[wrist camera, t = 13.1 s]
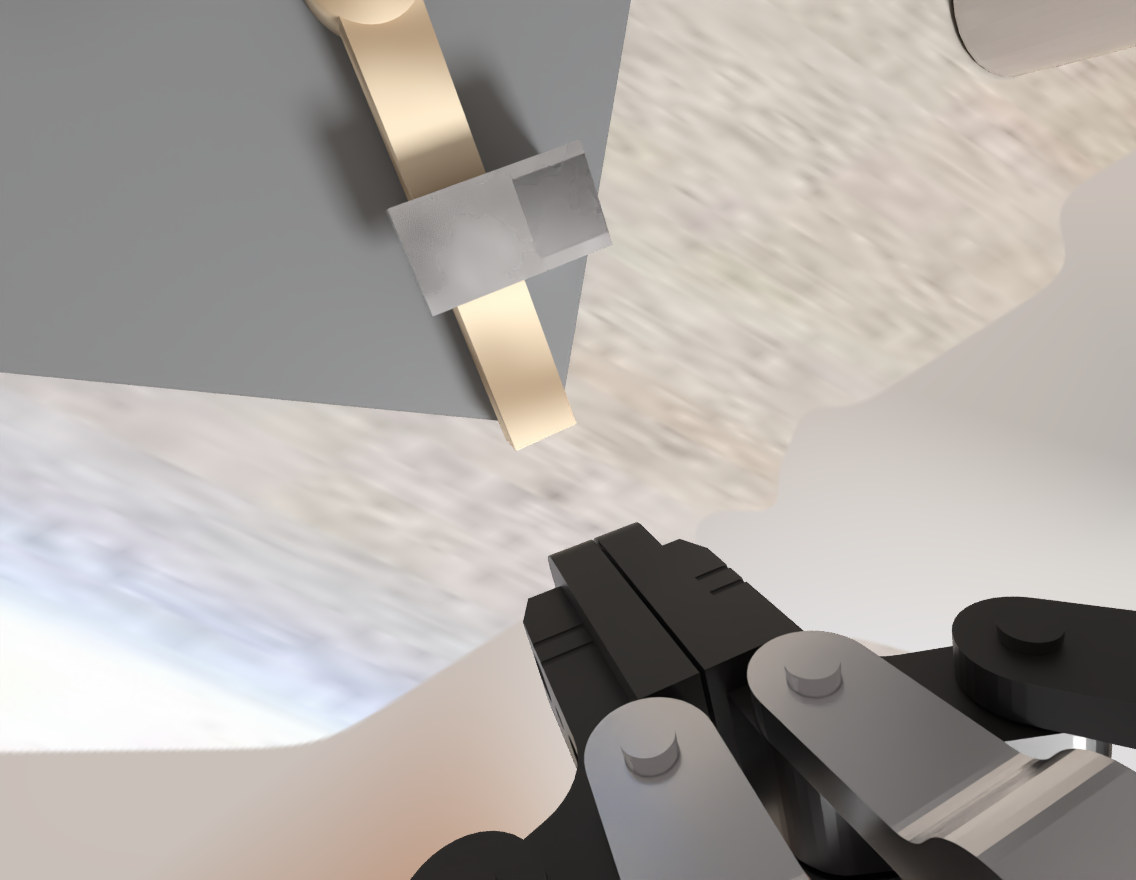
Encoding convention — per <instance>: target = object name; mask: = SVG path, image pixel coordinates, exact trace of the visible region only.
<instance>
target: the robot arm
mask: <svg viewBox="0 0 1136 880" xmlns="http://www.w3.org/2000/svg"><path fill="white" fill-rule="evenodd" d="M953 3H954V12H955V18H956V22H957V26H958V29H959V33H960V36H961V38H962V40H963V42H964V44H965V46H966V48H967V50H968V52H969V53H970V54H971V56H972V57H973V58H974V59H975V61H976V62H977V63H978V64H979V65H981V66H982V67H983V68H985V69H986V70H987V71H989V72H991V73H994V74H997V75H999V76H1010V77H1015V76H1019V75H1023V74H1027V73H1031V72H1035V71H1039V70H1043V69H1047V68H1050V67H1054V66H1061V65H1065V64H1069V63H1073V62H1077V61H1081V60H1085V59H1089V58H1092V57H1096V56H1100V55H1104V54H1108V53H1112V52H1116V51H1119V50H1123V49H1127V48H1131V47H1135V46H1136V0H953ZM548 561H549V566H550V570H551V573H552V577H553V580H554V583H555V587H556V588H554V589H552V590H549V591H547V592H544V593H542V594H539V595H537V596H534V597H532V598H529V599H528V602H527V607H526V611H525V616H524V620H523V624H524V627H525V630H526V633H527V636H528V639H529V642H530V645H531V648H532V651H533V654H534V657H535V660H536V663H537V666H538V670H539V673H540V676H541V679H542V681H543V684H544V688H545V691H546V694H547V697H548V700H549V703H550V705H551V708H552V710H553V713H554V715H555V717H556V720H557V722H558V725H559V727H560V729H561V732H562V734H563V737H564V739H565V742H566V744H567V746H568V748H569V751H570V753H571V756H572V758H573V761H574V763H575V765H576V768H577V771H576V775H575V779H574V781H573V784H572V786H571V789H570V791H569V792H568V794H567V796H566V797H565V799H564V801H563V802H562V803H561V804H560V806H559V807H558V808H557V810H556V811H555V812H554V813H553V814H552V815H551V816H550V817H549V818H548V819H547V820H546V821H544V822H543V823H542V824H541V825H540V826H539V827H538V828H536V829H535V830H534V831H533V832H532V833H531V834H529V835H528V836H527V837H526V838H525V839H524V840H523V839H521V838H519V837H517V836H516V835H513V834H510V833H505V832H500V831H486V832H478V833H474V834H470V835H467V836H464V837H462V838H460V839H457V840H455V841H453V842H452V843H450V844H448V845H446V846H445V847H443V848H442V849H440V850H439V851H438V852H436V853H435V854H434V855H432V856H431V857H430V858H429V859H428V860H427V861H426V862H425V863H424V864H423V865H422V866H421V867H420V868H419V870H418V871H417V872H416V873H415V874H414V876H413V877H412V878H411V880H1136V772H1135V771H1133V770H1131V769H1130V768H1128V767H1126V766H1124V765H1123V764H1121V763H1119V762H1117V761H1115V760H1113V759H1111V754H1112V744H1115V745H1120V746H1124V747H1129V748H1134V749H1136V611H1132V610H1124V609H1116V608H1108V607H1100V606H1092V605H1084V604H1076V603H1068V602H1061V601H1053V600H1045V599H1037V598H1028V597H999V598H992V599H987V600H983V601H980V602H977V603H974V604H972V605H970V606H968V607H966V608H965V609H964V610H962V611H961V612H960V613H959V614H958V615H957V617H956V618H955V620H954V622H953V625H952V640H953V646H951V647H944V648H938V649H932V650H926V651H920V652H914V653H907V654H901V655H894V656H878V655H877V654H875V653H874V652H872V651H871V650H869V649H868V648H866V647H865V646H863V645H862V644H860V643H858V642H857V641H855V640H853V639H850V638H848V637H845V636H842V635H838V634H835V633H829V632H824V631H803V630H802V629H801V628H799V626H797V625H796V624H795V623H794V622H793V621H792V620H790V619H789V618H788V617H787V616H786V615H785V614H783V613H782V612H781V611H780V610H779V609H778V608H776V607H775V606H774V605H773V604H772V603H771V602H769V601H768V600H767V599H766V598H765V597H764V596H763V595H761V594H760V593H759V592H758V591H757V590H755V589H754V588H753V587H752V586H751V585H750V584H749V583H747V582H744V581H743V579H742V577H740V576H739V575H738V574H737V573H736V572H735V571H733V570H732V569H731V568H727V565H726V564H725V563H724V562H723V561H722V560H721V559H719V558H718V557H717V556H716V555H715V554H714V553H712V552H711V551H710V550H709V549H708V548H705V547H702V546H699V545H696V544H693V543H690V542H687V541H684V540H681V539H678V540H676V541H673V542H671V543H668V544H666V545H663V546H662V545H661V544H660V543H659V542H658V541H657V540H656V539H655V538H654V537H653V536H652V535H651V534H650V533H649V532H648V531H647V530H646V529H645V528H644V527H643V526H642V525H641V524H640V523H638V522H636V523H633V524H630V525H628V526H625V527H623V528H620V529H617V530H615V531H612V532H609V533H607V534H604V535H602V536H599V537H596V538H594V541H593V540H589V541H586V542H584V543H581V544H579V545H576V546H573V547H571V548H568V549H566V550H563V551H560V552H558V553H555V554H552V555H550V556H548Z"/></svg>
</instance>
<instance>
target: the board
mask: <svg viewBox="0 0 1136 880" xmlns="http://www.w3.org/2000/svg"><path fill="white" fill-rule="evenodd" d="M423 1H424V4H425V7H426V9H427V12H428V15H429V18H430V21H431V23H432V26H433V29H434V32H435V34H436V37H437V40H438V43H439V45H440V48H441V51H442V54H443V56H444V59H445V62H446V65H447V67H448V70H449V73H450V76H451V79H452V81H453V84H454V87H455V90H456V92H457V95H458V98H459V101H460V103H461V106H462V109H463V112H464V114H465V117H466V120H467V123H468V125H469V128H470V131H471V134H472V136H473V139H474V142H475V145H476V148H477V150H478V153H479V156H480V159H481V161H482V164H483V167H484V170H485V172H486V173H488V172H491V171H494V170H497V169H499V168H502V167H505V166H508V165H510V164H513V163H516V162H519V161H522V160H524V159H527V158H530V157H533V156H535V155H538V154H541V153H544V152H546V151H549V150H552V149H555V148H558V147H560V146H563V145H566V144H569V143H571V142H574V141H577V140H580V139H581V143H582V146H583V149H584V153H585V156H586V159H587V162H588V166H589V169H590V172H591V176H592V179H593V182H594V186H595V189H596V192H597V195H598V190H599V184H600V179H601V173H602V167H603V161H604V155H605V149H606V143H607V137H608V131H609V126H610V120H611V114H612V108H613V102H614V96H615V90H616V84H617V79H618V73H619V67H620V61H621V55H622V49H623V43H624V37H625V31H626V26H627V20H628V14H629V8H630V2H631V0H423ZM405 202H408V199H407V197H406V195H405V192H404V190H403V187H402V185H401V182H400V180H399V178H398V175H397V173H396V170H395V168H394V165H393V163H392V160H391V158H390V156H389V153H388V151H387V148H386V146H385V143H384V141H383V139H382V136H381V134H380V131H379V129H378V126H377V124H376V122H375V119H374V117H373V114H372V112H371V109H370V107H369V104H368V102H367V100H366V97H365V95H364V92H363V90H362V87H361V85H360V83H359V80H358V78H357V75H356V73H355V70H354V68H353V65H352V63H351V61H350V58H349V56H348V53H347V51H346V48H345V46H344V44H343V41H342V39H341V37H340V36H338V35H336V34H335V33H333V32H331V31H330V30H329V29H327V28H326V27H325V26H324V25H323V24H322V23H321V22H320V21H319V20H318V19H317V18H316V17H315V16H314V14H313V13H312V12H311V10H310V9H309V7H308V6H307V4H306V2H305V0H0V372H3V373H14V374H24V375H34V376H44V377H55V378H65V379H75V380H86V381H96V382H106V383H117V384H127V385H137V386H147V387H158V388H168V389H178V390H189V391H199V392H209V393H219V394H230V395H240V396H250V397H261V398H271V399H281V400H292V401H302V402H312V403H322V404H333V405H343V406H353V407H364V408H374V409H384V410H394V411H405V412H415V413H425V414H436V415H446V416H456V417H467V418H477V419H487V420H497V421H498V419H497V416H496V414H495V411H494V409H493V407H492V404H491V402H490V399H489V397H488V394H487V392H486V390H485V387H484V385H483V382H482V380H481V377H480V375H479V372H478V370H477V368H476V365H475V363H474V360H473V358H472V355H471V353H470V351H469V348H468V346H467V343H466V341H465V338H464V336H463V333H462V331H461V329H460V326H459V324H458V321H457V319H456V316H455V314H454V312H453V309H450V310H448V311H445V312H443V313H440V314H438V315H435V316H432V315H430V314H429V311H428V309H427V307H426V304H425V302H424V300H423V297H422V295H421V293H420V290H419V288H418V285H417V283H416V281H415V278H414V276H413V274H412V271H411V269H410V266H409V264H408V262H407V259H406V257H405V255H404V252H403V250H402V248H401V245H400V243H399V240H398V238H397V236H396V233H395V231H394V229H393V226H392V224H391V222H390V219H389V217H388V214H387V212H386V210H387V209H388V208H391V207H394V206H397V205H400V204H402V203H405ZM586 261H587V255H586V256H583V257H580V258H578V259H575V260H573V261H570V262H568V263H565V264H563V265H560V266H558V267H555V268H553V269H550V270H548V271H545V272H543V273H540V274H538V275H535V276H533V277H530V278H528V279H525V283H526V286H527V288H528V291H529V294H530V297H531V299H532V302H533V305H534V308H535V310H536V313H537V316H538V319H539V321H540V324H541V327H542V330H543V332H544V335H545V338H546V341H547V344H548V346H549V349H550V352H551V355H552V357H553V360H554V363H555V366H556V368H557V371H558V374H559V377H560V379H561V382H562V385H563V388H564V390H565V385H566V379H567V373H568V367H569V361H570V355H571V349H572V343H573V337H574V332H575V326H576V320H577V314H578V308H579V302H580V296H581V290H582V284H583V279H584V273H585V267H586Z"/></svg>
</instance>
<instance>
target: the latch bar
mask: <svg viewBox="0 0 1136 880" xmlns="http://www.w3.org/2000/svg"><path fill="white" fill-rule="evenodd" d="M305 2H306V4H307V6H308V7H309V9H310V10H311V12H312V13H313V14H314V16H315V17H316V18H317V19H318V20H319V21H320V22H321V23H322V24H323V25H324V26H325V27H326V28H327V29H329V30H330V31H331V32H333V33H335V34H336V35H338V36H340V37H341V39H342V41H343V44H344V46H345V48H346V51H347V53H348V56H349V58H350V61H351V63H352V65H353V68H354V70H355V73H356V75H357V78H358V80H359V83H360V85H361V87H362V90H363V92H364V95H365V97H366V100H367V102H368V104H369V107H370V109H371V112H372V114H373V117H374V119H375V122H376V124H377V126H378V129H379V131H380V134H381V136H382V139H383V141H384V143H385V146H386V148H387V151H388V153H389V156H390V158H391V160H392V163H393V165H394V168H395V170H396V173H397V175H398V178H399V180H400V182H401V185H402V187H403V190H404V192H405V195H406V197H407V199H408V201H411V200H413V199H416V198H419V197H422V196H425V195H427V194H430V193H433V192H436V191H438V190H441V189H444V188H447V187H449V186H452V185H455V184H458V183H461V182H463V181H466V180H469V179H472V178H474V177H477V176H480V175H483V174H485V173H486V172H485V170H484V167H483V164H482V161H481V159H480V156H479V153H478V150H477V148H476V145H475V142H474V139H473V136H472V134H471V131H470V128H469V125H468V123H467V120H466V117H465V114H464V112H463V109H462V106H461V103H460V101H459V98H458V95H457V92H456V90H455V87H454V84H453V81H452V79H451V76H450V73H449V70H448V67H447V65H446V62H445V59H444V56H443V54H442V51H441V48H440V45H439V43H438V40H437V37H436V34H435V32H434V29H433V26H432V23H431V21H430V18H429V15H428V12H427V9H426V7H425V4H424V1H423V0H305ZM453 312H454V314H455V316H456V319H457V321H458V324H459V326H460V329H461V331H462V333H463V336H464V338H465V341H466V343H467V346H468V348H469V351H470V353H471V355H472V358H473V360H474V363H475V365H476V368H477V370H478V372H479V375H480V377H481V380H482V382H483V385H484V387H485V390H486V392H487V394H488V397H489V399H490V402H491V404H492V407H493V409H494V411H495V414H496V416H497V419H498V421H499V424H500V426H501V429H502V431H503V433H504V436H505V438H506V440H507V441H508V442H509V443H510V445H511V446H512V447H513V448H514V449H515V450H516V451H518V450H520V449H522V448H524V447H526V446H529V445H531V444H533V443H535V442H537V441H539V440H542V439H544V438H546V437H548V436H550V435H553V434H555V433H557V432H559V431H561V430H564V429H566V428H568V427H570V426H572V425H575V424H576V421H575V418H574V415H573V413H572V410H571V407H570V404H569V401H568V399H567V396H566V393H565V390H564V388H563V385H562V382H561V379H560V377H559V374H558V371H557V368H556V366H555V363H554V360H553V357H552V355H551V352H550V349H549V346H548V344H547V341H546V338H545V335H544V332H543V330H542V327H541V324H540V321H539V319H538V316H537V313H536V310H535V308H534V305H533V302H532V299H531V297H530V294H529V291H528V288H527V286H526V283H525V280H523V281H520V282H518V283H515V284H513V285H510V286H508V287H505V288H503V289H500V290H498V291H495V292H493V293H490V294H488V295H485V296H483V297H480V298H478V299H475V300H473V301H470V302H468V303H465V304H463V305H460V306H458V307H455V308H453Z"/></svg>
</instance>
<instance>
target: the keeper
mask: <svg viewBox="0 0 1136 880" xmlns="http://www.w3.org/2000/svg"><path fill="white" fill-rule="evenodd" d="M386 212H387V214H388V217H389V219H390V222H391V224H392V226H393V229H394V231H395V233H396V236H397V238H398V240H399V243H400V245H401V248H402V250H403V252H404V255H405V257H406V259H407V262H408V264H409V266H410V269H411V271H412V274H413V276H414V278H415V281H416V283H417V285H418V288H419V290H420V293H421V295H422V297H423V300H424V302H425V304H426V307H427V309H428V311H429V314H430V315H432V316H435V315H438V314H440V313H443V312H445V311H448V310H450V309H453V308H455V307H458V306H460V305H463V304H465V303H468V302H470V301H473V300H475V299H478V298H480V297H483V296H485V295H488V294H490V293H493V292H495V291H498V290H500V289H503V288H505V287H508V286H510V285H513V284H515V283H518V282H520V281H523V280H525V279H528V278H530V277H533V276H535V275H538V274H540V273H543V272H545V271H548V270H550V269H553V268H555V267H558V266H560V265H563V264H565V263H568V262H570V261H573V260H575V259H578V258H580V257H583V256H586V255H588V254H591V253H593V252H596V251H598V250H601V249H603V248H606V247H608V246H611V245H612V242H611V238H610V235H609V232H608V228H607V225H606V222H605V218H604V215H603V212H602V209H601V205H600V202H599V199H598V195H597V192H596V189H595V186H594V182H593V179H592V176H591V172H590V169H589V166H588V162H587V159H586V156H585V153H584V149H583V146H582V143H581V139H580V140H577V141H574V142H571V143H569V144H566V145H563V146H560V147H558V148H555V149H552V150H549V151H546V152H544V153H541V154H538V155H535V156H533V157H530V158H527V159H524V160H522V161H519V162H516V163H513V164H510V165H508V166H505V167H502V168H499V169H497V170H494V171H491V172H488V173H485V174H483V175H480V176H477V177H474V178H472V179H469V180H466V181H463V182H461V183H458V184H455V185H452V186H449V187H447V188H444V189H441V190H438V191H436V192H433V193H430V194H427V195H425V196H422V197H419V198H416V199H413V200H411V201H408V202H405V203H402V204H400V205H397V206H394V207H391V208H388V209H387V210H386Z"/></svg>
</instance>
